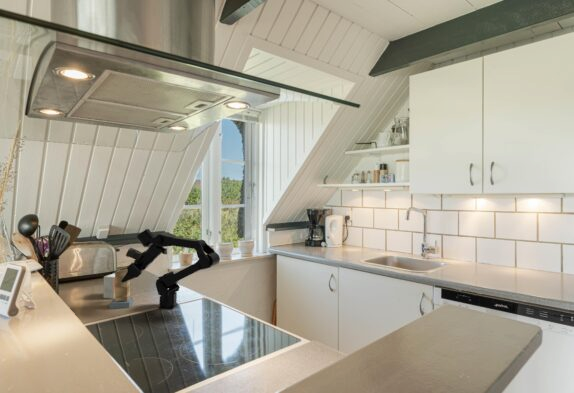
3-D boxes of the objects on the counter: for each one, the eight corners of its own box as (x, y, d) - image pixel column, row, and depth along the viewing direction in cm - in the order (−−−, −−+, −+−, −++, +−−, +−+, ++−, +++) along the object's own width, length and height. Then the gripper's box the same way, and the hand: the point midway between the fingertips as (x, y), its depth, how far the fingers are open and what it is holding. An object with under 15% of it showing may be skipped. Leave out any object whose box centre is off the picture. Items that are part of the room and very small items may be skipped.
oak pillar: (129, 297, 160) (129, 269, 160) (127, 300, 155) (127, 271, 156) (117, 298, 159) (117, 270, 159) (115, 301, 154) (115, 271, 154)
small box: (113, 299, 165) (113, 277, 165) (103, 298, 166) (103, 276, 166) (124, 294, 173) (124, 273, 173) (114, 293, 174) (114, 272, 174)
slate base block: (133, 303, 162) (133, 296, 162) (129, 309, 154) (129, 302, 154) (114, 304, 160) (114, 297, 160) (109, 310, 152) (109, 303, 152)
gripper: (142, 239, 166) (117, 262, 165) (132, 245, 148) (104, 271, 146) (159, 255, 168) (134, 278, 166) (151, 263, 150) (124, 289, 148)
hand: (124, 279), depth 157 cm, fingers open, 9 cm apart
